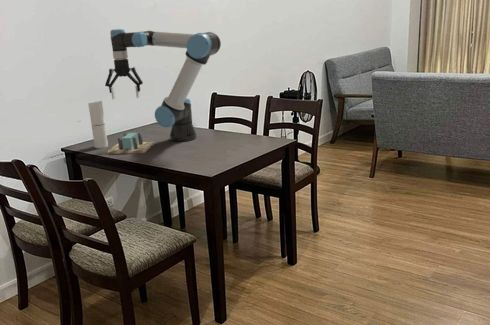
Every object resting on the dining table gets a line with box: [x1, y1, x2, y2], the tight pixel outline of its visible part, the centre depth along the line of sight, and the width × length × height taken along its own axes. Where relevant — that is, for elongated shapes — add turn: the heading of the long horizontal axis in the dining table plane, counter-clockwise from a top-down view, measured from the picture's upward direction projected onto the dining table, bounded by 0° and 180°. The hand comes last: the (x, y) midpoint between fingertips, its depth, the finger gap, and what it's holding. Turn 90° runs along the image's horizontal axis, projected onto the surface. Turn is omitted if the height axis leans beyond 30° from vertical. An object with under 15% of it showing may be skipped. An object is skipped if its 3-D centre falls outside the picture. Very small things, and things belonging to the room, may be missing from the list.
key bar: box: [121, 132, 139, 149], centre depth 262 cm, size 12×4×6 cm, turn 174°
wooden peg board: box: [106, 132, 155, 155], centre depth 262 cm, size 20×18×7 cm
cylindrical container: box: [87, 100, 109, 149], centre depth 268 cm, size 7×7×25 cm
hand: (125, 98), depth 269 cm, fingers open, 13 cm apart
